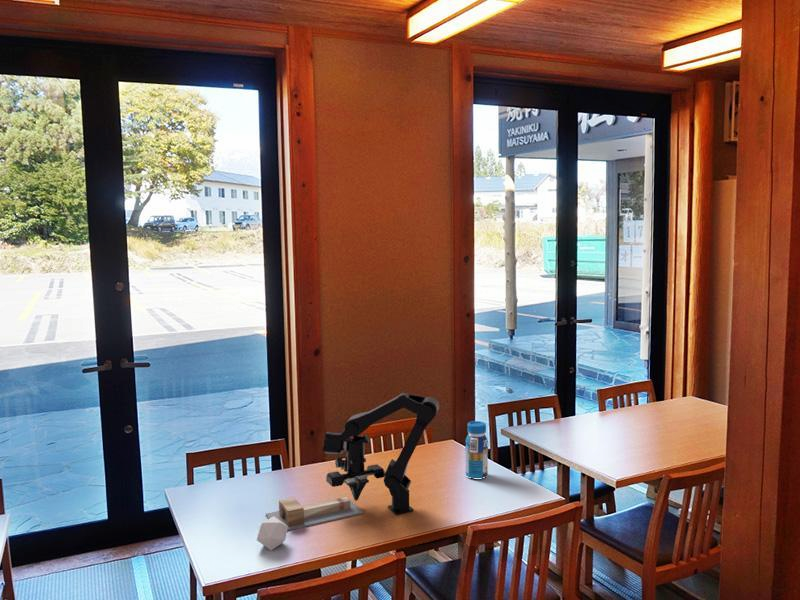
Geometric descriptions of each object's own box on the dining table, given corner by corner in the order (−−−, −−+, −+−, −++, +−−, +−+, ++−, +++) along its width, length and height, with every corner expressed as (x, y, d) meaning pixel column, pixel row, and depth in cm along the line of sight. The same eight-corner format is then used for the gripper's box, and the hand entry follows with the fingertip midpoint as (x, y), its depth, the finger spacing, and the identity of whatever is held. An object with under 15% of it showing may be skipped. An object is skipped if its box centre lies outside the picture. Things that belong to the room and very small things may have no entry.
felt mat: (363, 513, 212) (363, 512, 211) (278, 532, 199) (278, 531, 199) (346, 498, 224) (346, 496, 224) (265, 515, 211) (265, 513, 211)
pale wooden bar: (350, 508, 214) (350, 500, 214) (297, 520, 206) (297, 511, 206) (346, 505, 217) (346, 496, 217) (294, 516, 209) (294, 508, 208)
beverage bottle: (460, 474, 244) (460, 422, 242) (479, 470, 248) (479, 419, 246) (473, 482, 237) (473, 428, 235) (492, 478, 241) (493, 424, 239)
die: (291, 551, 189) (294, 516, 194) (270, 546, 183) (273, 511, 188) (271, 554, 193) (274, 520, 198) (249, 550, 187) (253, 515, 192)
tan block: (304, 523, 204) (303, 507, 203) (288, 526, 201) (288, 511, 201) (294, 512, 212) (294, 497, 211) (279, 515, 210) (278, 500, 209)
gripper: (371, 443, 226) (371, 486, 228) (320, 451, 218) (320, 496, 220) (385, 452, 217) (385, 498, 218) (332, 461, 208) (332, 509, 210)
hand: (355, 500), depth 217 cm, fingers closed
